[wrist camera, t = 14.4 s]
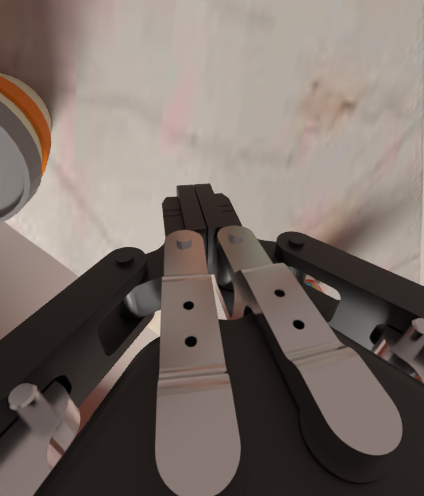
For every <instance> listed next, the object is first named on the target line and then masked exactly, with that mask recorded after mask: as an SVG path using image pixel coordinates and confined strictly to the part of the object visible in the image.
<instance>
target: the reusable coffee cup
mask: <svg viewBox="0 0 424 496" xmlns="http://www.w3.org/2000/svg"><path fill="white" fill-rule="evenodd" d="M51 128H52V126H51V118H50V114H49V111H48V109H47V107H46V105H45V104H44V102H43V101H42V99H41V98H40V96H39V95H38V94H37V93H36V92H35V91H34V90H33V89H32V88H30V87H29V86H28V85H27V84H25V83H24V82H22V81H20V80H19V79H17V78H14V77H12V76H9V75H6V74H2V73H0V223H1V222H3V221H6V220H8V219H10V218H11V217H13V216H14V215H15V214H17V213H18V212H19V211H20V210H21V209H22V208H23V207H24V206H25V205H26V203H27V202H28V201H29V200H30V199H31V198H32V197H33V196H34V194H35V193H36V191H37V189H38V187H39V185H40V182H41V178H42V175H43V173H44V171H45V168H46V165H47V161H48V157H49V153H50V148H51Z"/></svg>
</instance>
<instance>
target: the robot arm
mask: <svg viewBox="0 0 424 496" xmlns="http://www.w3.org/2000/svg"><path fill="white" fill-rule="evenodd" d="M162 209H163V219H164V229H165V238H166V239H165V243H164V244H163V245H162V246H161V247H160V248H159V249H157V250H155V251H153V252H150V253H147V254H145V253H144V252H143V251H142V250H140V249H138V248H134V247H124V248H119V249H116V250H114V251H112V252H111V253H109V254H108V255H107V256H105V257H104V258H103V259H102V260H100V261H99V262H98V263H97V264H95V265H94V266H93V267H92V268H90V269H89V270H88V271H86V272H85V273H84V274H83V275H81V276H80V277H79V278H78V279H77V280H75V281H74V282H73V283H71V284H70V285H69V286H68V287H66V288H65V289H64V290H63V291H61V292H60V293H59V294H58V295H57V296H55V297H54V298H53V299H51V300H50V301H49V302H48V303H46V304H45V305H44V306H43V307H41V308H40V309H39V310H38V311H36V312H35V313H34V314H33V315H31V316H30V317H29V318H28V319H26V320H25V321H24V322H22V323H21V324H20V325H19V326H18V327H16V328H15V329H14V330H12V331H11V332H10V333H9V334H7V335H6V336H5V337H4V338H2V339H1V340H0V496H424V286H422V285H419V284H417V283H415V282H413V281H410V280H408V279H406V278H403V277H401V276H399V275H397V274H394V273H392V272H390V271H387V270H385V269H383V268H381V267H378V266H376V265H374V264H371V263H369V262H367V261H365V260H362V259H360V258H358V257H355V256H353V255H351V254H349V253H346V252H344V251H342V250H339V249H337V248H335V247H333V246H330V245H328V244H326V243H323V242H321V241H319V240H316V239H314V238H312V237H310V236H307V235H305V234H302V233H299V232H285V233H282V234H280V235H279V236H278V238H277V242H273V241H264V240H259V239H257V238H256V237H255V235H254V234H253V232H252V231H251V230H249V229H248V228H245V227H243V226H242V224H241V222H240V220H239V218H238V216H237V214H236V212H235V211H234V208H233V206H232V204H231V202H230V200H229V198H228V197H226V196H225V195H223V194H222V193H219V194H214V192H213V190H212V187H211V185H210V183H209V184H194V185H179V186H177V197H166V198H165V200H164V201H163V203H162ZM211 274H214V275H215V278H216V279H215V289H216V292H217V295H218V297H219V300H220V303H221V305H222V308H223V311H224V313H225V316H226V319H227V320H221V319H218V315H217V309H216V303H215V297H214V291H213V285H212V279H211ZM307 275H309V276H311V277H313V278H315V279H317V280H319V281H321V282H323V283H325V284H327V285H329V286H331V287H332V288H334V289H336V290H337V291H338V292H339V294H340V296H341V300H336V299H334V298H332V297H330V296H328V295H326V294H324V293H322V292H320V291H319V290H317V289H315V288H313V287H311V286H309V285H307V284H305V283H304V282H305V279H306V276H307ZM160 309H161V329H160V337H158V338H156V339H155V340H153V341H152V342H150V343H149V344H148V345H146V346H145V347H144V348H143V349H142V350H141V351H140V352H139V353H138V354H137V355H136V356H135V358H134V359H133V360H132V361H131V363H130V364H129V365H128V367H127V368H126V370H125V371H124V372H123V374H122V375H121V376H120V378H119V379H118V380H117V382H116V383H115V385H114V386H113V387H112V389H111V390H110V392H109V393H108V394H107V395H106V397H105V398H104V400H103V401H102V402H101V404H100V405H99V406H98V408H97V409H96V410H95V412H94V413H93V415H92V416H91V417H90V419H89V420H88V421H87V423H86V424H85V425H84V427H83V428H82V429H81V431H80V432H79V434H78V435H77V436H76V438H75V439H74V440H73V438H74V437H75V435H76V433H77V431H78V428H79V423H80V413H79V410H78V408H79V407H80V405H81V404H82V403H83V402H84V401H85V399H86V398H87V397H88V396H89V395H90V393H91V392H92V391H93V389H94V388H95V387H96V386H97V385H98V384H99V383H100V381H101V380H102V379H103V378H104V376H105V375H106V374H107V373H108V372H109V371H110V369H111V368H112V367H113V366H114V364H115V363H116V362H117V361H118V360H119V358H120V357H121V356H122V355H123V353H124V352H125V351H126V350H127V349H128V348H129V346H130V345H131V344H132V343H133V342H134V340H135V339H136V338H137V337H138V336H139V334H140V333H141V332H142V331H143V330H144V328H145V327H146V326H147V325H148V324H149V322H150V321H151V320H152V318H153V317H154V314H155V312H156V311H158V310H160ZM72 440H73V442H72ZM71 442H72V443H71ZM70 443H71V445H70ZM69 445H70V446H69ZM68 446H69V447H68Z"/></svg>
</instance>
